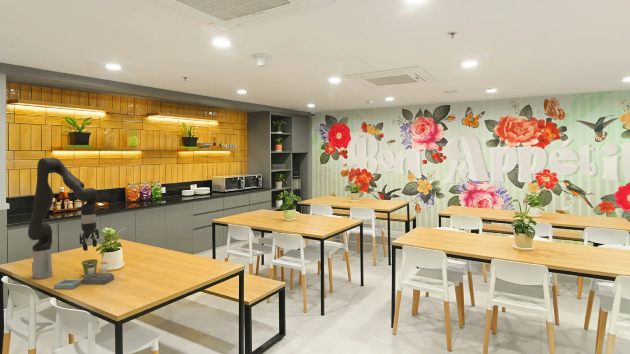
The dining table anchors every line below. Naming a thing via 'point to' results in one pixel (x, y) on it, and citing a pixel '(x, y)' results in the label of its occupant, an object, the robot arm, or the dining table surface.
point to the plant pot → (85, 265)
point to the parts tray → (67, 284)
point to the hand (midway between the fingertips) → (90, 248)
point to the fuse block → (97, 279)
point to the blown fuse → (91, 268)
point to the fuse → (104, 268)
